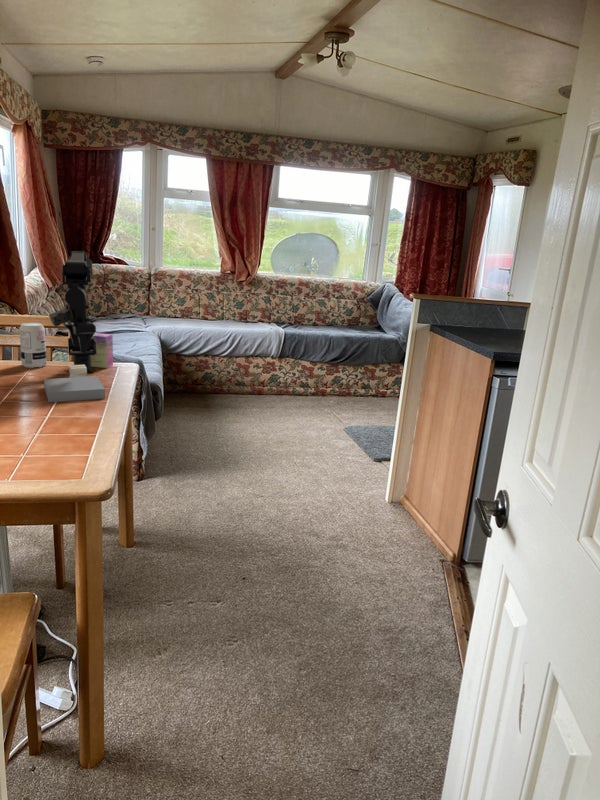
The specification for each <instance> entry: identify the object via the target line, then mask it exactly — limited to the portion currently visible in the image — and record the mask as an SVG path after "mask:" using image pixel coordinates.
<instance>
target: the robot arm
mask: <svg viewBox="0 0 600 800" xmlns="http://www.w3.org/2000/svg"><path fill="white" fill-rule="evenodd" d="M93 274H94V273H93V261H92V259H90V258H89V257H88V256H87V252H85V251H84V250H82V251H80V250H79V251H78V250H73V251H70V256H69V257H68V258H67V259H66V260H65V262H64V264H62V285H63V286H64V285H65V286H66V285H67V286H66V292H65V295H64V298H65V302H66V304H65V308H64V309H61V310H58V311H55V312H53V313H50V314H49V315H48V316H49V320H50V321H51V324H52V325H53V326H54V327H58V326H61V325H62V326H64V327H65V328H66V329H67V330H68V332H69V337H68V338H67V346H68V349H67V350H68V356H73V365H85V366H86V368H87V374H89V373H90V374H91V373H94V370H93V369H92V368H93V367H91V355H96V342H95V341H94V338H92V336H93V334H94V333H97V326H96V324H94V323H92V322H91V321H90V318H89V317H88V309H89V308H90V307H89V305H88V300H87V288H88V287H89V285H90V284H91V282H92V277H93V276H94V275H93ZM91 350H92V351H91Z"/></svg>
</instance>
